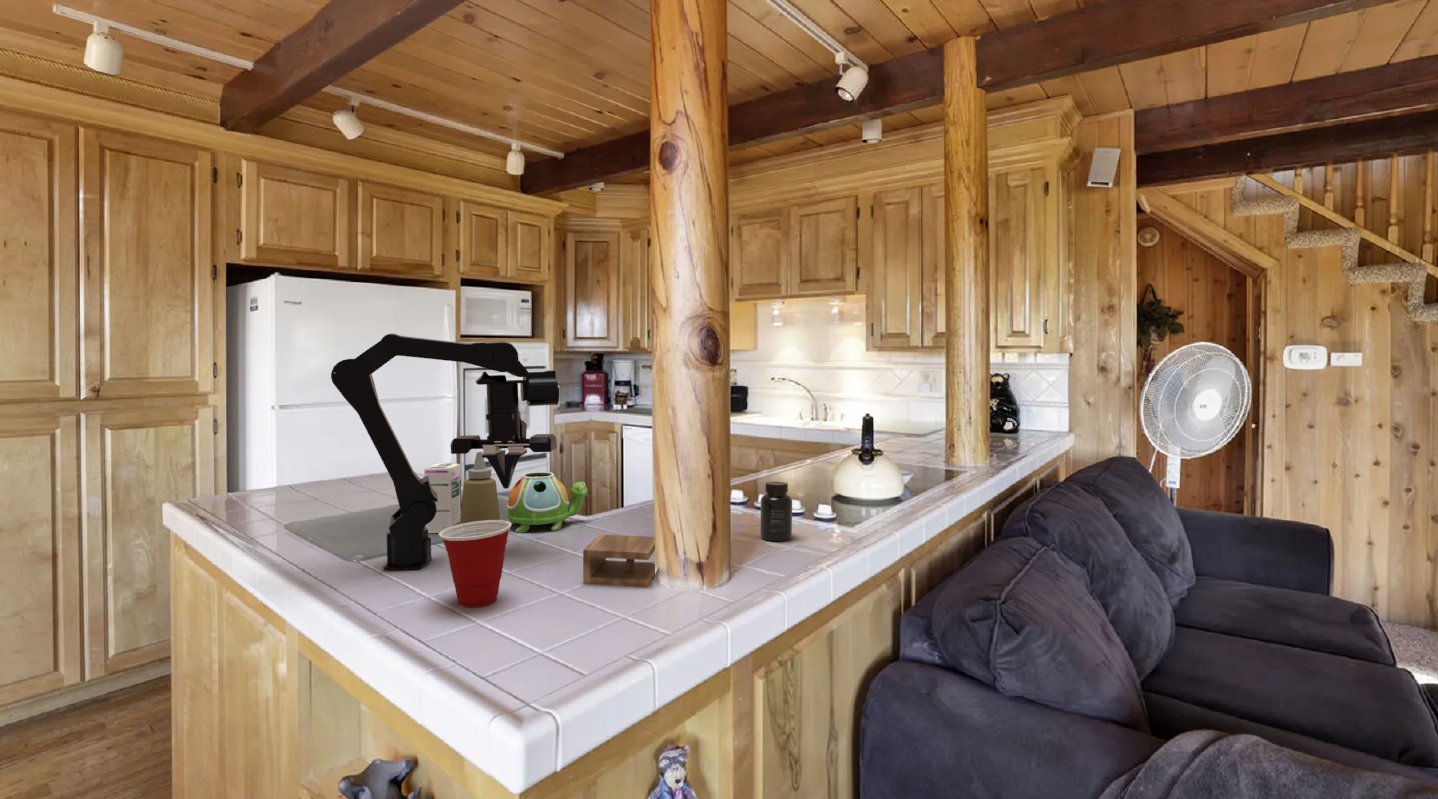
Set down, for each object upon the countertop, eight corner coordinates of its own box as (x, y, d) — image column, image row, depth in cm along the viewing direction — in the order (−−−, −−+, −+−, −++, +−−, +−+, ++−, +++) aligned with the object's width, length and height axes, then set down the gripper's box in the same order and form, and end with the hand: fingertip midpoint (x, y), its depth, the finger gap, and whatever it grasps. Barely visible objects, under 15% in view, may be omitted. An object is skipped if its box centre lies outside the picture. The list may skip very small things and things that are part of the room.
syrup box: (452, 534, 144) (451, 467, 143) (424, 533, 144) (423, 466, 143) (462, 527, 150) (461, 462, 149) (436, 526, 150) (435, 462, 149)
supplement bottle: (797, 537, 147) (798, 482, 146) (782, 544, 141) (784, 487, 140) (769, 532, 150) (770, 479, 150) (754, 538, 145) (755, 483, 144)
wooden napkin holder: (583, 549, 115) (648, 553, 114) (599, 534, 125) (659, 537, 123) (583, 584, 115) (647, 587, 114) (599, 566, 125) (659, 569, 124)
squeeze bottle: (487, 543, 138) (486, 456, 137) (451, 540, 140) (451, 454, 139) (507, 532, 146) (507, 450, 145) (473, 530, 148) (472, 448, 147)
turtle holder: (594, 528, 152) (594, 475, 151) (511, 536, 144) (510, 480, 143) (581, 515, 163) (582, 466, 162) (503, 522, 155) (503, 471, 154)
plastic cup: (456, 587, 112) (456, 516, 111) (521, 589, 112) (521, 518, 111) (426, 612, 101) (425, 534, 100) (497, 614, 101) (497, 536, 100)
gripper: (560, 403, 137) (563, 478, 138) (468, 404, 136) (471, 480, 137) (548, 408, 126) (551, 490, 127) (447, 409, 125) (451, 492, 126)
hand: (506, 488), depth 130 cm, fingers closed
